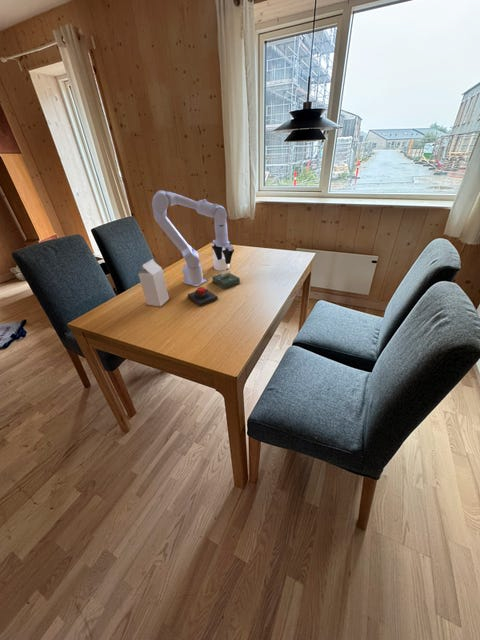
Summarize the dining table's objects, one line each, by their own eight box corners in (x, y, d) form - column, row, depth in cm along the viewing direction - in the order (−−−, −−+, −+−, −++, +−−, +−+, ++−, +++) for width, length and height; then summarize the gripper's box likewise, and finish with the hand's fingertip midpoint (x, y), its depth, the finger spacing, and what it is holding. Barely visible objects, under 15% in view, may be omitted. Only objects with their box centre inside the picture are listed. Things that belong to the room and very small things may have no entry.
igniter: (188, 297, 121) (186, 290, 119) (204, 291, 125) (204, 284, 123) (200, 306, 113) (199, 299, 112) (217, 299, 118) (216, 292, 116)
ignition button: (196, 292, 118) (195, 288, 117) (203, 289, 120) (202, 286, 119) (200, 295, 116) (199, 291, 115) (207, 292, 117) (206, 288, 116)
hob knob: (222, 278, 129) (222, 271, 127) (220, 277, 130) (220, 270, 128) (230, 276, 131) (229, 269, 129) (228, 275, 132) (228, 268, 130)
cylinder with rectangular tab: (232, 265, 150) (231, 245, 144) (223, 271, 144) (221, 250, 138) (220, 263, 155) (218, 242, 148) (210, 268, 148) (208, 247, 142)
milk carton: (169, 299, 120) (160, 259, 110) (160, 306, 115) (150, 265, 104) (156, 297, 123) (145, 258, 112) (146, 304, 117) (135, 264, 107)
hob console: (212, 281, 134) (212, 276, 132) (227, 276, 138) (226, 271, 136) (225, 289, 126) (224, 283, 124) (239, 283, 131) (239, 277, 129)
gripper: (237, 235, 120) (239, 263, 128) (220, 229, 130) (222, 255, 138) (224, 238, 117) (227, 267, 124) (207, 232, 127) (210, 259, 134)
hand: (223, 261), depth 131 cm, fingers open, 7 cm apart
